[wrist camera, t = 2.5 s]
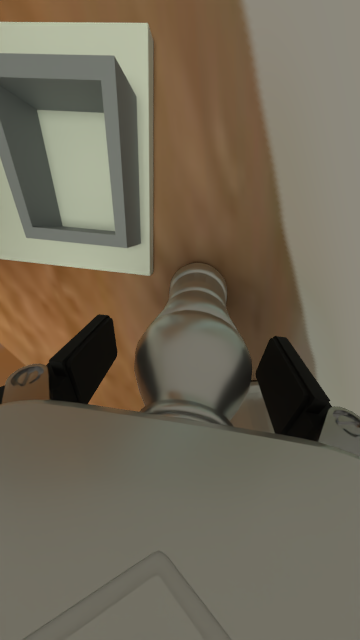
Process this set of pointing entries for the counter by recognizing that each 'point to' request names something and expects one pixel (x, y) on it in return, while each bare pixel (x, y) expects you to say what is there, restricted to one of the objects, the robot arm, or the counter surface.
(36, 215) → the socket stand
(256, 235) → the counter surface
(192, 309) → the grey tall bottle shape
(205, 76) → the counter surface
